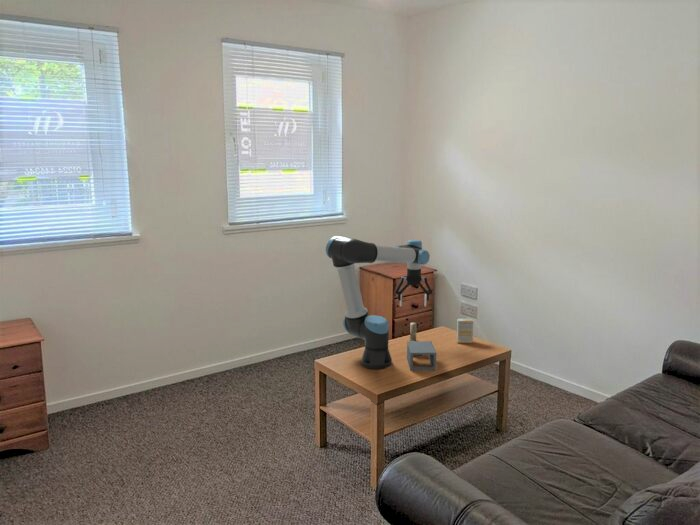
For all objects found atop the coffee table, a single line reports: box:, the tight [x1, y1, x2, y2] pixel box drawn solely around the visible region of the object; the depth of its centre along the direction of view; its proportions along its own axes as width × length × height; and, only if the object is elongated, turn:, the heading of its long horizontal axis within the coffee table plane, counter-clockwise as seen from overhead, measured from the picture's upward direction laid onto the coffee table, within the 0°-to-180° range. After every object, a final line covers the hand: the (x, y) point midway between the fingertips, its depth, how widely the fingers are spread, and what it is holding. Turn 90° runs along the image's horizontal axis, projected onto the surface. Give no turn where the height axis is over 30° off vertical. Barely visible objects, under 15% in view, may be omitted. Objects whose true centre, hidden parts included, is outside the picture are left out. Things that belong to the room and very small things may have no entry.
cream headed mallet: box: [409, 322, 424, 357], centre depth 295 cm, size 6×25×10 cm, turn 179°
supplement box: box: [456, 317, 474, 345], centre depth 302 cm, size 8×5×13 cm, turn 84°
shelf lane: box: [406, 340, 437, 372], centre depth 272 cm, size 12×16×9 cm
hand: (413, 306), depth 303 cm, fingers open, 13 cm apart
